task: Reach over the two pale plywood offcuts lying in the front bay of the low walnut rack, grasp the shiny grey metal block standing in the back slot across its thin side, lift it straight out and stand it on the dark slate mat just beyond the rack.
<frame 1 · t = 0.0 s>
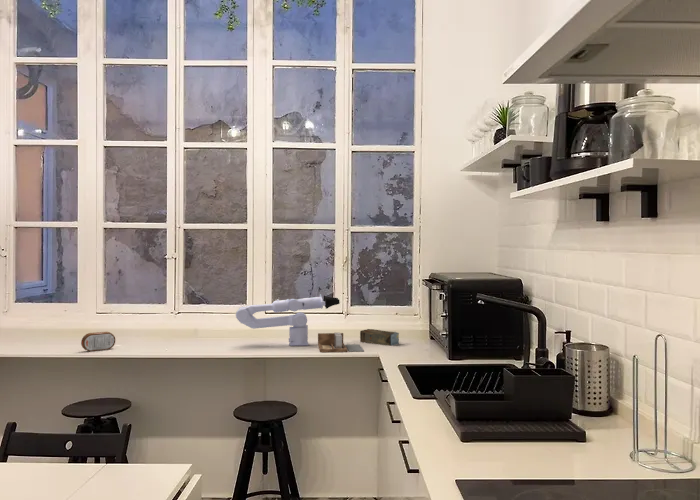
hand: (338, 300, 299), 22 cm above the countertop, tool horizontal, fingers open, 7 cm apart
rack: (331, 348, 286), on the countertop
tin: (98, 350, 278), on the countertop
mat: (354, 348, 287), on the countertop
shiny grey metal block: (337, 348, 286), on the countertop
beverage carton: (379, 343, 303), on the countertop
offcut top: (326, 348, 286), on the countertop, touching offcut low
offcut low: (326, 350, 285), on the countertop, touching offcut top
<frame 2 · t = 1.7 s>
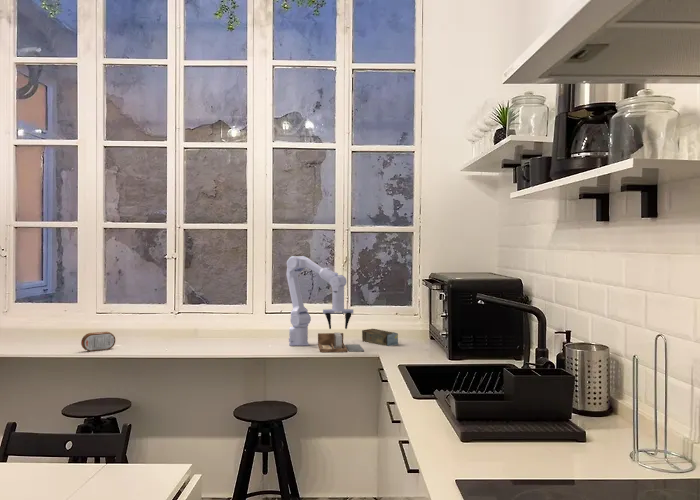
hand: (338, 328, 286), 9 cm above the countertop, tool pointing down, fingers open, 7 cm apart
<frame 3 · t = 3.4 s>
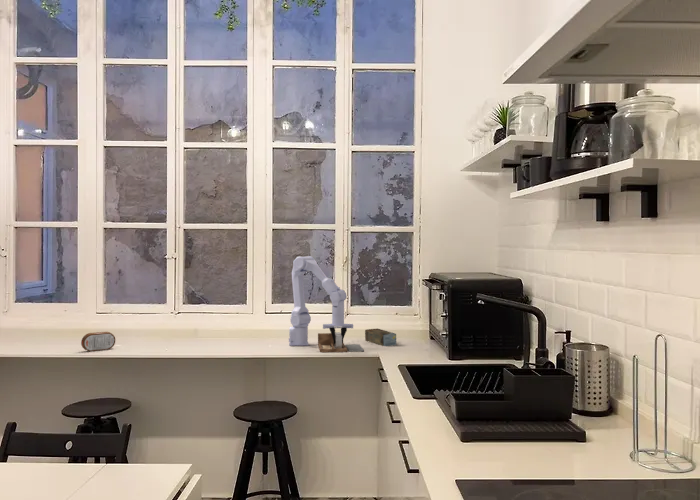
hand: (337, 343, 286), 2 cm above the countertop, tool pointing down, fingers closed on shiny grey metal block, 3 cm apart
shiny grey metal block: (337, 348, 286), on the countertop, touching gripper
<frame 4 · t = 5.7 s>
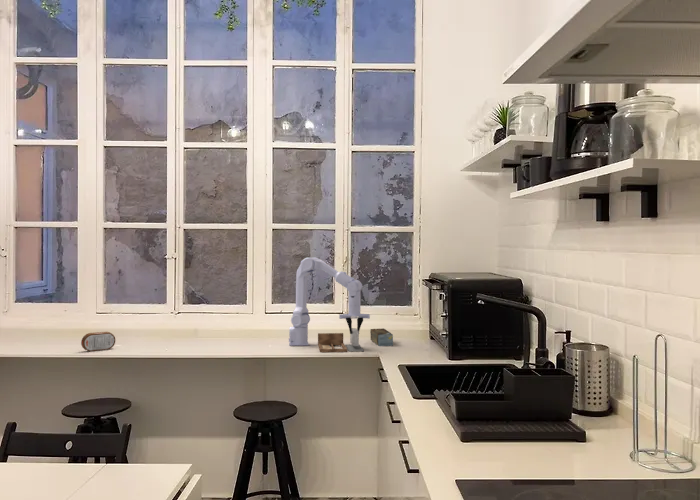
hand: (354, 333, 287), 7 cm above the countertop, tool pointing down, fingers closed on shiny grey metal block, 3 cm apart
shiny grey metal block: (354, 344, 287), point 2 cm above the countertop, touching gripper
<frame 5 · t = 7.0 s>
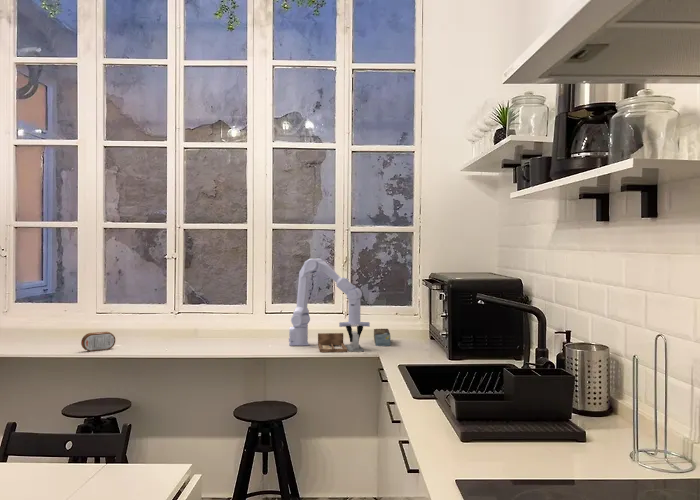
hand: (354, 341, 287), 3 cm above the countertop, tool pointing down, fingers closed on shiny grey metal block, 3 cm apart
shiny grey metal block: (354, 347, 287), resting on mat, touching gripper
when the fingers open (3 cm above the countertop, at t = 7.1 s): shiny grey metal block stays where it is, resting on mat.
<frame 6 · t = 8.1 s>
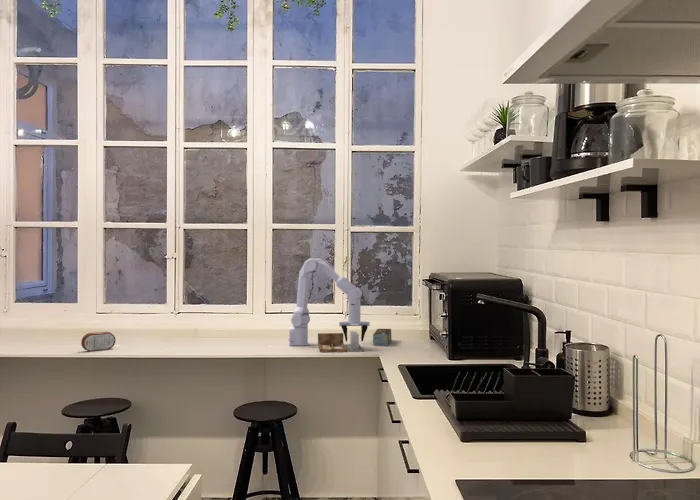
hand: (354, 341, 287), 3 cm above the countertop, tool pointing down, fingers open, 7 cm apart
shiny grey metal block: (354, 347, 287), resting on mat
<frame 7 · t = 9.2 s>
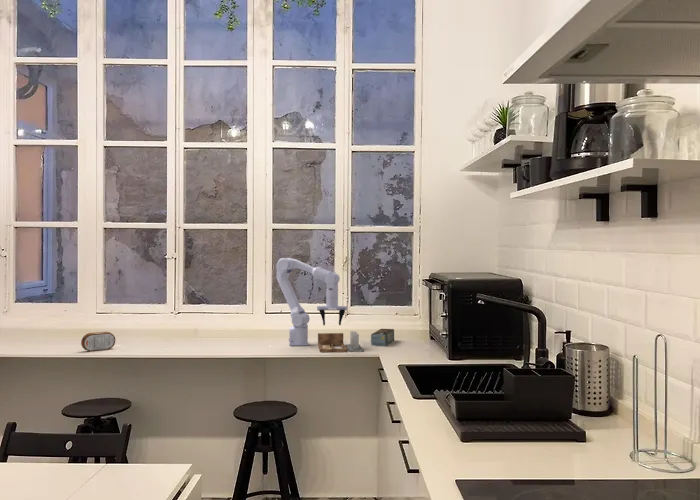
hand: (331, 325, 293), 10 cm above the countertop, tool pointing down, fingers open, 7 cm apart
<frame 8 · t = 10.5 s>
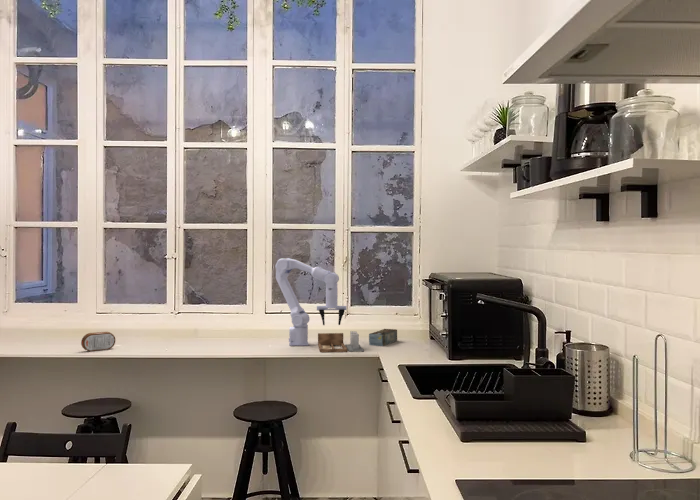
hand: (331, 325, 293), 10 cm above the countertop, tool pointing down, fingers open, 7 cm apart
at the end: shiny grey metal block inside the target area (0.3 cm from its centre), resting on mat; shiny grey metal block tilted 0°; the gripper is holding nothing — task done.
